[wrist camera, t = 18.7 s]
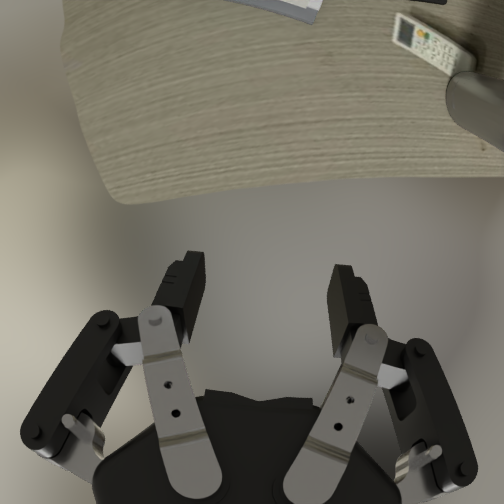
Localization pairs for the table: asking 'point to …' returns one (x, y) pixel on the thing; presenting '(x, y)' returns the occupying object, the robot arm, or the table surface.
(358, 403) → the robot arm
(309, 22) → the white and grey dock
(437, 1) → the smartphone
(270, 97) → the table surface
